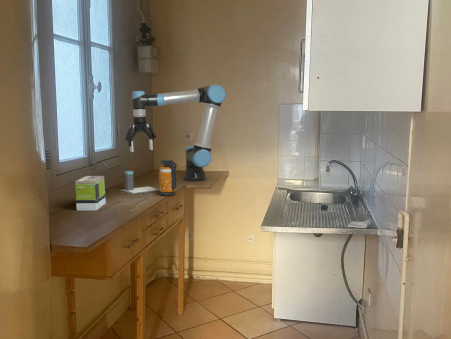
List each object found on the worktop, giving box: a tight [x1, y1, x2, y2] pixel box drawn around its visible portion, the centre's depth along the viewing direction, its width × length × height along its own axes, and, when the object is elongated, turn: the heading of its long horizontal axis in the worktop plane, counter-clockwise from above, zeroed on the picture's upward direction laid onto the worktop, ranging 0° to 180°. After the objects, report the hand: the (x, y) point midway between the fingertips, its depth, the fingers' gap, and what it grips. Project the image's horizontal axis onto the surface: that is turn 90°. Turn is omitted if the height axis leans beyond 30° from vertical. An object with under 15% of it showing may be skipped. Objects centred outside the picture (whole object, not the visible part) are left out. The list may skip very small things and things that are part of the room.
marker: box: [124, 170, 135, 191], centre depth 259 cm, size 4×4×11 cm
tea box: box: [74, 175, 107, 212], centre depth 216 cm, size 15×10×15 cm, turn 178°
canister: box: [158, 159, 178, 197], centre depth 246 cm, size 9×11×20 cm
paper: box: [119, 185, 159, 195], centre depth 261 cm, size 20×16×1 cm
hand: (141, 150), depth 273 cm, fingers open, 13 cm apart
